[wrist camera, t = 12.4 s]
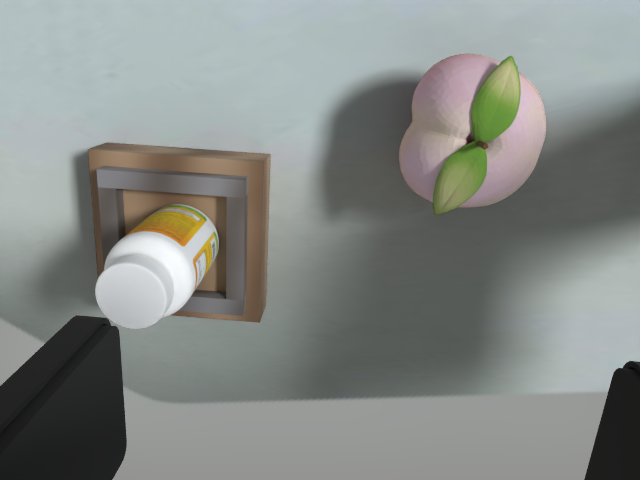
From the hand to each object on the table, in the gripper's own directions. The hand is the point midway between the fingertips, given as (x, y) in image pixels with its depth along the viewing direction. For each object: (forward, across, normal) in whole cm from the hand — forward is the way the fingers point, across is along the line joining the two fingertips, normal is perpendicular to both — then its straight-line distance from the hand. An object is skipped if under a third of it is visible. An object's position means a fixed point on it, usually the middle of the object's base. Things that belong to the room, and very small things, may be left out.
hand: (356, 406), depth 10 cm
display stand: (+30, +12, +7) cm, 33 cm away
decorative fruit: (+31, -7, -2) cm, 31 cm away
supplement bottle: (+28, +12, +7) cm, 31 cm away
